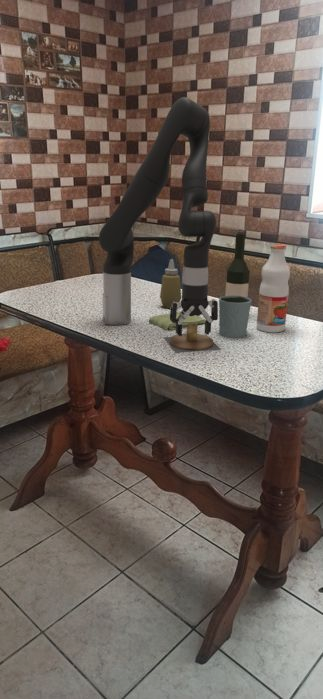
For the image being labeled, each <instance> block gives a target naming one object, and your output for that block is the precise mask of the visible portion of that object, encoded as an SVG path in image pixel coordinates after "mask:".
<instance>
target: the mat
mask: <svg viewBox="0 0 323 699" xmlns="http://www.w3.org/2000/svg"><path fill="white" fill-rule="evenodd" d="M204 335H205V336H208V334H207V335H206V334H204ZM171 337H172V336H165V337H164V336H163V339H164V340H165V342H166V343H167V344H168V345H169V347H170V348H171V349H172V351H173V352H174V353H175V354H176V353H177V354H178V353H193V352H195V353H196V352H206V351H209V352H210V351H221V350H222V348H220V346H219V345H217V344H216V343H215V342H214V341H213V346H212V347H211V348H208V349H205V350H196V351H192V350H182V349H178V348H175V347H173V346H172V345H171V344H170V338H171Z"/></svg>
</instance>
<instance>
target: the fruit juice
mask: <svg viewBox="0 0 323 699" xmlns="http://www.w3.org/2000/svg"><path fill="white" fill-rule="evenodd" d="M269 248H270V253H269V257H268V260H267V261H266V263H265V264H264V265H263V266H262V268H261V271H260V272H261V279H262V280H261V283H260V285H259V290H258V304H257V314H256V315H257V316H256V328H257V330H258V331H262V332H265V333H272V334H273V333H281V332H283V331H284V330H285V328H286V318H287V310H288V303H289V302H288V300H289V294H290V287H289V283H288V282H289V279H290V276H291V269H290V266H289V265H288V263H287V261H286V255H285V251H286V249H287V245H286V244H283V243H271V244H270V247H269Z"/></svg>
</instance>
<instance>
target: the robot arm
mask: <svg viewBox="0 0 323 699" xmlns="http://www.w3.org/2000/svg"><path fill="white" fill-rule="evenodd" d="M210 119H211V118H210V114H209V112H208V110H207V109H206V108H205V107H204V106H202V105H200V104H198V103H197V102H195V101H194V100H192V99H190V97H186V96H183V97H180V98H178V99H177V100H176V101H175V102H174V103H173V105H172V106H171V108H170V109H169V111H168V113H167V114H166V117H165V119H164V121H163V123H162V126H161V128H160V130H159V132H158V134H157V136H156V138H155V141H154V142H153V144H152V146H151V148H149V151H148V153H147V154H146V156H145V158H144V160H143V162H142V163H141V165H140V166H139V167H138V169H137V171H136V172H135V174H134V175H133V178H132V180H131V182H130V183H129V185H128V187H127V189H126V191H125V192H124V194H123V195H122V198H121V200H120V202H119V204H118V205H117V207H116V209H115V210H114V211H113V213H111V215H110V217H109V218H108V220H107V221H105V224H104V225H103V226H102V227H101V229H100V231H99V235H98V242H99V246H100V248H101V249H102V250H103V251H104V252H106V253H107V255H106V258H105V260H104V262H103V265H102V277H103V278H102V281H103V282H102V283H103V289H102V290H103V292H102V321H103V323H104V324H105V325H110V326H111V325H113V326H123V325H128V324H130V323H131V322H132V265H133V262H134V250H135V249H134V247H135V246H134V245H135V243H134V241H135V240H134V239H135V238H134V237H135V236H134V231H133V229H132V228H133V226H134V225H135V223H136V221H137V220H139V218H140V217H141V216H142V215H143V214H144V212H147V211H146V210H148V208H150V207H151V206H152V204H153V203H155V201H156V200H157V198H158V197H159V195H160V194H161V193H162V191H163V189H164V187H165V185H166V184H167V183H168V180H169V176H170V168H171V167H170V166H171V164H170V163H171V155H172V150H173V149H174V146H175V144H176V143H177V141H178V139H179V137H180V136H181V135H182V136H184V137H186V138H187V139H188V143H189V156H188V159H187V161H186V163H185V165H184V167H183V169H182V170H183V171H182V173H181V174H182V175H181V185H182V186H181V189H182V204H181V211H180V214H179V217H178V218H179V219H178V223H177V225H178V226H177V228H178V231H179V232H180V235H182V236H183V237H188V238H189V237H191V238H192V237H193V238H194V237H201V238H200V240H199V241H198V242H197V243H192V244H188V245H186V246H185V247H184V249H183V266H182V277H181V282H182V283H181V286H182V287H181V300H180V302H174V301H172V302H171V308H170V320H171V321H172V322H173V323H176V330H175V333H176V335H178V336H182V334H183V328H182V322H183V321H184V320H185V319H186V318H187V317H188V315H189V316H195V315H196V316H200V317H201V315H202V317H204V319H205V320H206V321H205V324H204V335H207V336H208V335H209V334H210V333H211V332H212V323H213V322H215V321H218V320H219V301H217V300H216V299H215V298H214V299H210V300H208V295H209V294H208V293H209V253H210V248H211V243H212V239H213V236H214V233H215V231H216V227H217V218H216V215H215V214H214V213H213V211H210V210H191V209H193V208H195V207H200V206H203V205H204V204H206V203H207V202H208V197H209V194H208V178H207V158H208V150H209V149H208V147H209V138H210V126H211V124H210V123H211V122H210V121H211V120H210ZM208 306H209V307H210V310H211V313H210V314H208V312H207V311H206V310H207V308H208ZM180 308H181V309H182V310H181V312H180V314H179V316H178V317H177V318H176V314H177V312H178V310H179V309H180Z"/></svg>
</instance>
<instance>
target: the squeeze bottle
mask: <svg viewBox="0 0 323 699" xmlns="http://www.w3.org/2000/svg"><path fill="white" fill-rule="evenodd" d="M164 273H165V274H163V275H162V278H161V285H160V292H159V293H160V294H159V297H160V298H159V299H160V302H161V305H162V307H163V308H165V309H171V302H172V301H174V302H181V300H182V287H181V286H182V285H181V276H180V275H179V274H178V268H175V262H174V259H173V258H171V259H169V263H168V267H167V268H165V269H164Z"/></svg>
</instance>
